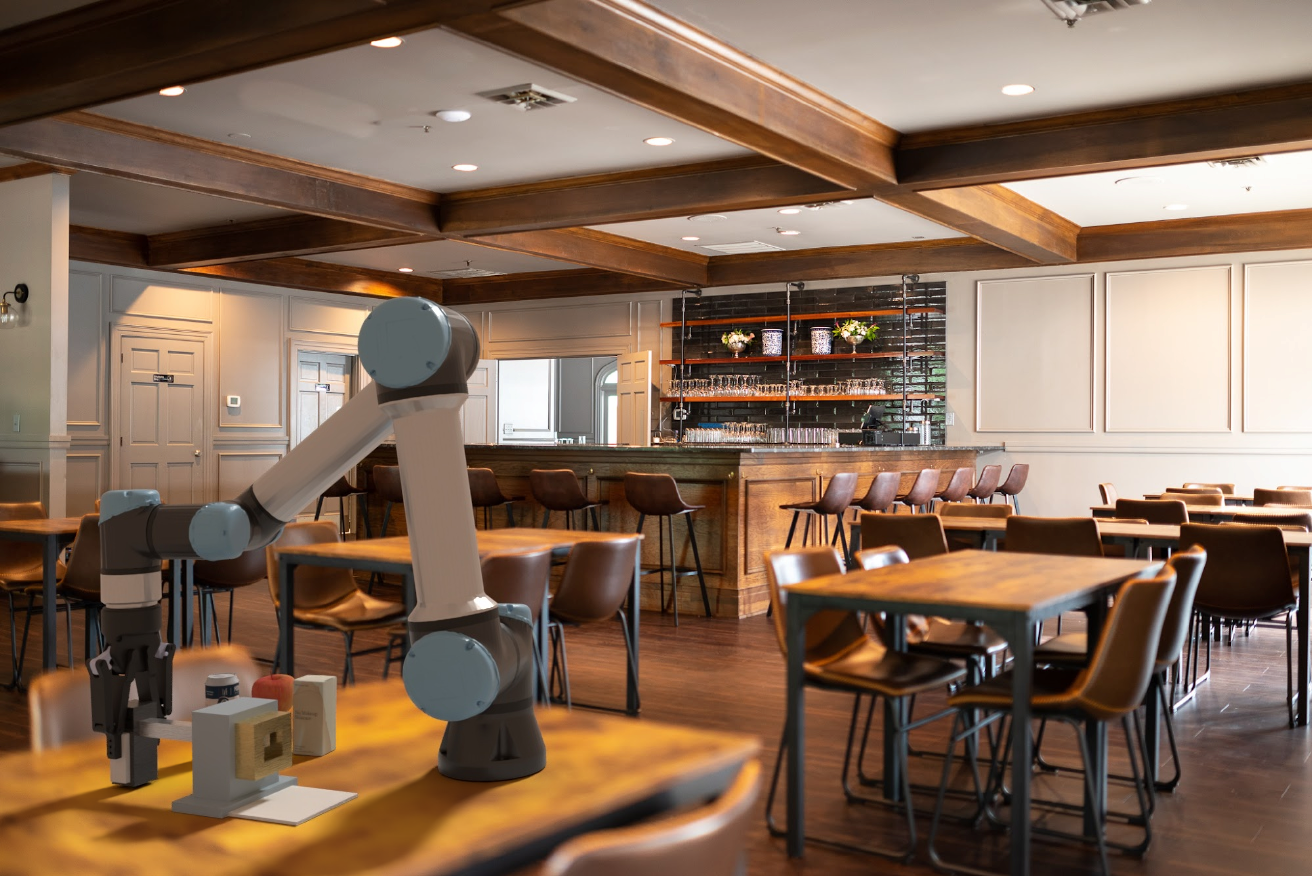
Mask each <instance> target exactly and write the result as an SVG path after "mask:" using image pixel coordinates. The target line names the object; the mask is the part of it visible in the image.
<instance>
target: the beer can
mask: <svg viewBox="0 0 1312 876" xmlns="http://www.w3.org/2000/svg"><path fill="white" fill-rule="evenodd" d="M204 691H205V692H204V694H205V695H204V698H205V699H204V700H205V701H204V703H205V704H204V705H205V706H204V708H206V707H209V706H212V705H216V704H219V703H222V702H226V701H229V700H232V699H236V698H239V697H240V679H238V677H237V674H236V673H234V672H217V673H213V674H210V675H208V676H207V677H206V680H205V682H204Z"/></svg>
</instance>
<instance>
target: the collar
mask: <svg viewBox="0 0 1312 876" xmlns="http://www.w3.org/2000/svg"><path fill="white" fill-rule="evenodd" d="M268 734H270V746H267V747H264V736H265V735H268ZM292 749H293V726H292V712H291V711H287V712H283V711H270V712H267V713H264V714H261V715H258V716H255V717H252V718H249V719H246V720H243V721H239V722H236V723H235V761H236V779H243V780H251V781H256V780H258V779H261V778H263V777H266V776H268V775H271V774H273V773H276V772H278V771H279V772H280V771H283V770H286V769H288V768H291V767H293V753H292Z"/></svg>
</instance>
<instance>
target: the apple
mask: <svg viewBox="0 0 1312 876" xmlns="http://www.w3.org/2000/svg"><path fill="white" fill-rule="evenodd" d="M269 673H270V674H269V675H265V676H263V677H260V678H258V679H257V680H255V681H254V682H253V684H252V686H251V694H250V695H251V698H262V699H273V700H278V711H283V712H289V711H290V710H291V709H292V708H293V680H295V679H296V678H294V677H293V676H291V675H288V674H282V673H281V674H272V673H273V670H270V671H269Z"/></svg>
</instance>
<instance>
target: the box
mask: <svg viewBox="0 0 1312 876" xmlns="http://www.w3.org/2000/svg"><path fill="white" fill-rule="evenodd" d="M294 679H295V680H293V706H292V755H301V756H314V757H323V756H326V755H327V754H329V753H331V752H333V751H335V750H336V749H337V685H338V684H337V683H338V681H337V680H338V678H337V676H335V675H324V674H322V675H320V674H317V675H316V674H307V675H304V676H300V677H298V678H294Z"/></svg>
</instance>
